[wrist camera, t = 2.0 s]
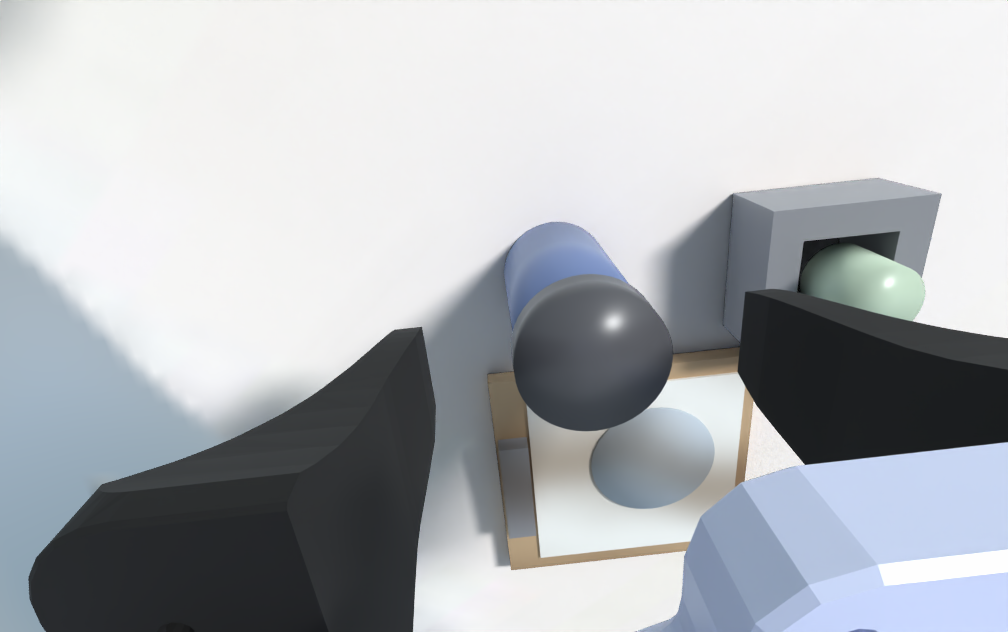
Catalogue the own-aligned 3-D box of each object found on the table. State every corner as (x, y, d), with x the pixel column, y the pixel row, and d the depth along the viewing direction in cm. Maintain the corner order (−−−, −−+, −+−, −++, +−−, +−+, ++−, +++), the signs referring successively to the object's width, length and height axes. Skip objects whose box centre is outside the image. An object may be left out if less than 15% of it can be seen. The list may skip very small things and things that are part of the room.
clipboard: (730, 533, 22) (744, 557, 21) (510, 557, 22) (512, 583, 21) (750, 346, 18) (767, 362, 17) (487, 374, 18) (488, 393, 17)
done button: (863, 305, 16) (915, 335, 14) (795, 312, 16) (838, 343, 14) (876, 238, 15) (933, 261, 13) (805, 246, 15) (851, 270, 13)
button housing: (853, 311, 18) (905, 343, 16) (723, 325, 18) (757, 359, 16) (878, 178, 16) (941, 193, 14) (733, 193, 16) (774, 211, 14)
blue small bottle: (609, 315, 18) (670, 422, 12) (506, 326, 18) (520, 438, 12) (607, 213, 16) (675, 281, 11) (495, 224, 16) (507, 300, 11)
